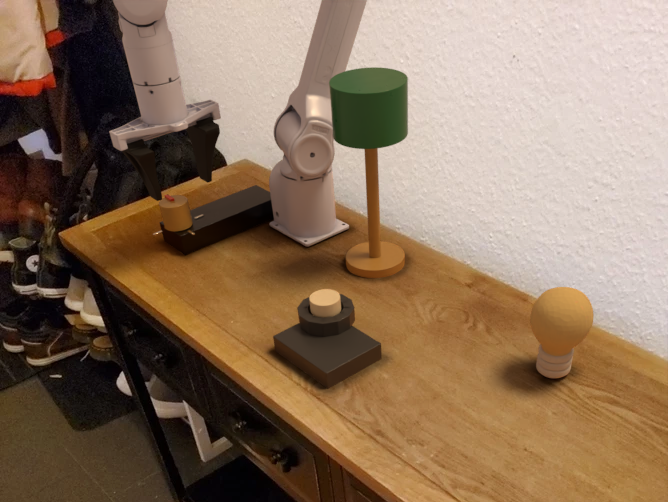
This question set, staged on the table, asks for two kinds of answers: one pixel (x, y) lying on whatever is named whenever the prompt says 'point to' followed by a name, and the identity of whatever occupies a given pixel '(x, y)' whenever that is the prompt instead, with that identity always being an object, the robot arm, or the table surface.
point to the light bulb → (560, 328)
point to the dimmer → (221, 220)
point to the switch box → (327, 344)
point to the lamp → (371, 150)
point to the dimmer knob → (175, 212)
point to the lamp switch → (325, 303)
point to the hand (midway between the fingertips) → (181, 188)
